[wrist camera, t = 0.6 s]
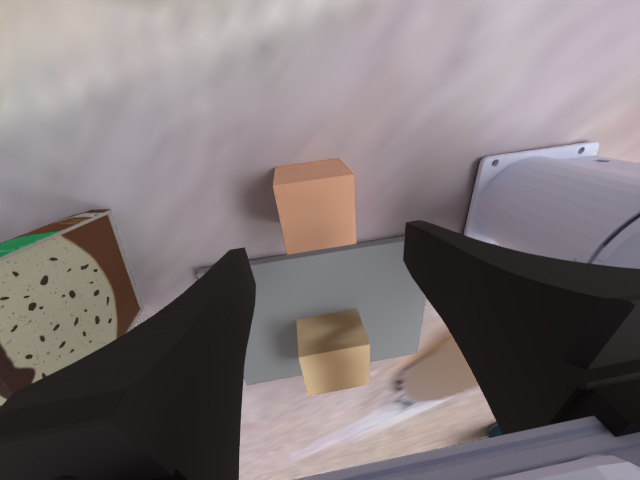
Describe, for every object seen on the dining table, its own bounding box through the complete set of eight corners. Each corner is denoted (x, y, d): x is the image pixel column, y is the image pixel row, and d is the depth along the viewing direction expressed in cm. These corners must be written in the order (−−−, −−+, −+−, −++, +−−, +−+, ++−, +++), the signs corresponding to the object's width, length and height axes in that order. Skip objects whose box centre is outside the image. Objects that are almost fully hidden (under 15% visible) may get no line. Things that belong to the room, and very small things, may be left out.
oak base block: (357, 308, 24) (369, 344, 20) (358, 347, 27) (369, 384, 23) (296, 319, 23) (298, 357, 20) (304, 357, 26) (308, 396, 23)
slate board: (430, 231, 21) (435, 235, 20) (413, 347, 29) (417, 353, 28) (199, 268, 20) (196, 274, 19) (248, 378, 28) (247, 385, 27)
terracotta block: (338, 158, 17) (354, 174, 13) (341, 215, 19) (356, 243, 16) (275, 166, 17) (272, 185, 13) (286, 224, 19) (287, 254, 15)
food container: (-8, 181, 15) (-402, 287, 6) (103, 188, 16) (-107, 287, 7) (69, 321, 21) (-82, 475, 12) (147, 320, 22) (58, 460, 13)
